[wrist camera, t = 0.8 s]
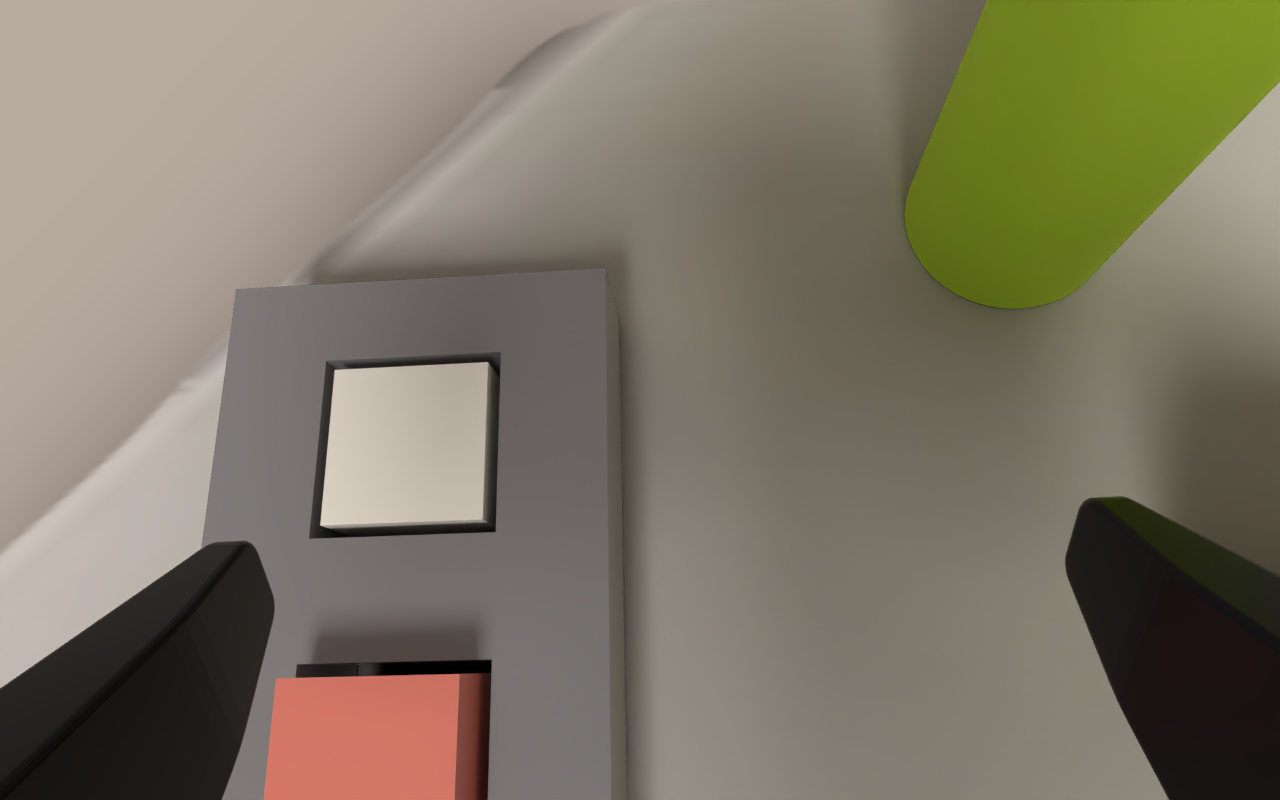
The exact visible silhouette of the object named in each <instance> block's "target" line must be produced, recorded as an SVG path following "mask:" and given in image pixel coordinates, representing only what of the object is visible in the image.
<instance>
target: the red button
mask: <svg viewBox="0 0 1280 800" xmlns="http://www.w3.org/2000/svg"><path fill="white" fill-rule="evenodd" d="M490 707H491V673H474V674H432V675H390V676H348V677H309V678H276V683H275V693H274V702H273V712H272V722H271V731H270V741H269V751H268V760H267V770H266V780H265V789H264V799H263V800H488V774H489V740H490Z"/></svg>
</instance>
